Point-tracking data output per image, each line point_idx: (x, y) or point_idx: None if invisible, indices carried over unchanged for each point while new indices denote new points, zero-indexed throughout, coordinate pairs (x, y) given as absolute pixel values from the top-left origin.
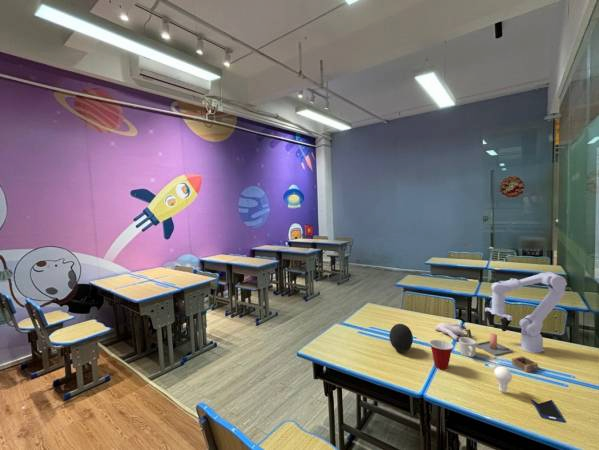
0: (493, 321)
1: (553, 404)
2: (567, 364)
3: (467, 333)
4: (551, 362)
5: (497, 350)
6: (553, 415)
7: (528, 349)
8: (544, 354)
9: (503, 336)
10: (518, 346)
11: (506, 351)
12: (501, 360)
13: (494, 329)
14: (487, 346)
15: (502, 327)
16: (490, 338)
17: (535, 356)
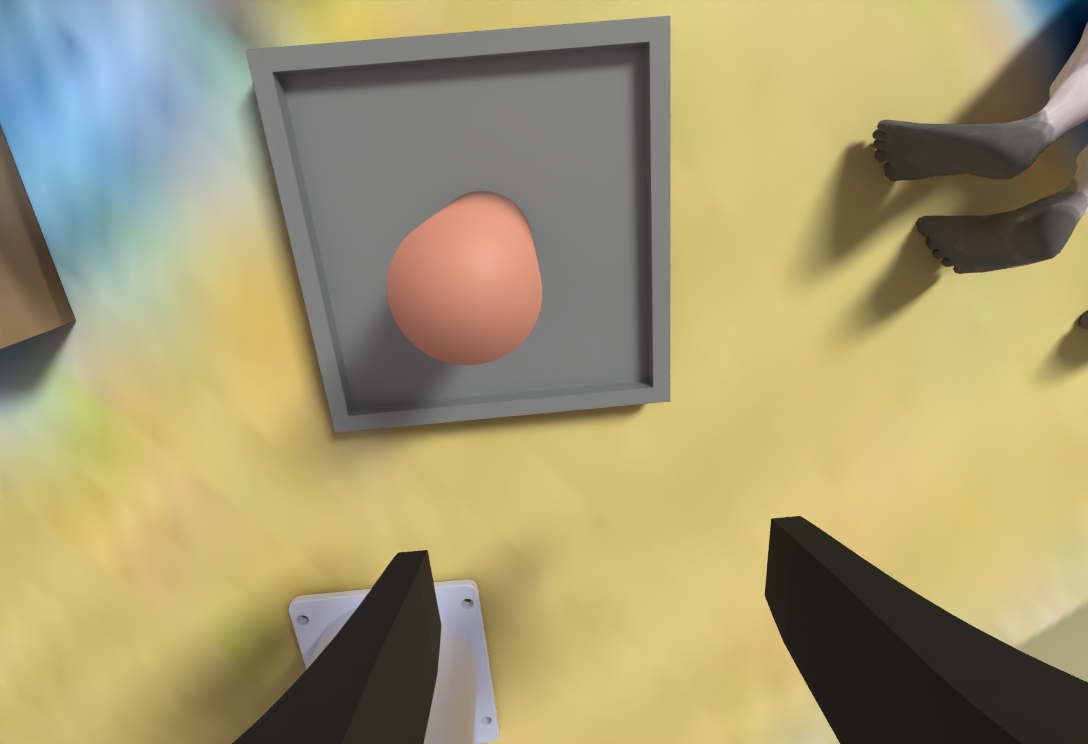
0: (816, 691)
1: None
2: (55, 721)
3: (987, 125)
4: (95, 628)
5: None
6: None
7: (340, 625)
8: (270, 694)
9: (739, 637)
10: (459, 593)
11: (315, 323)
12: (157, 74)
13: None
14: (556, 198)
15: (375, 618)
16: (480, 206)
17: (237, 587)
